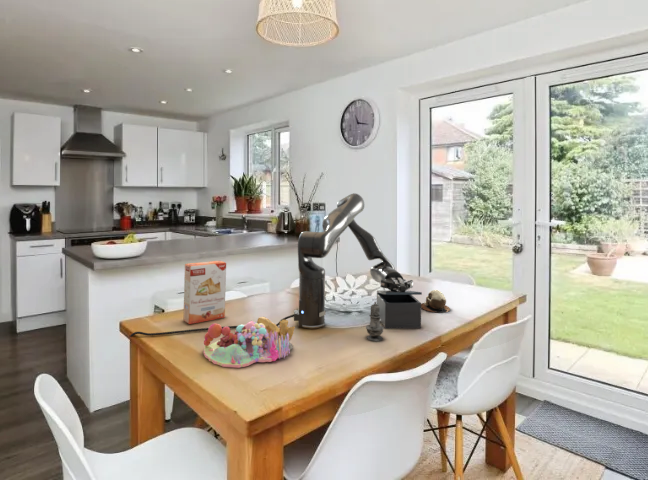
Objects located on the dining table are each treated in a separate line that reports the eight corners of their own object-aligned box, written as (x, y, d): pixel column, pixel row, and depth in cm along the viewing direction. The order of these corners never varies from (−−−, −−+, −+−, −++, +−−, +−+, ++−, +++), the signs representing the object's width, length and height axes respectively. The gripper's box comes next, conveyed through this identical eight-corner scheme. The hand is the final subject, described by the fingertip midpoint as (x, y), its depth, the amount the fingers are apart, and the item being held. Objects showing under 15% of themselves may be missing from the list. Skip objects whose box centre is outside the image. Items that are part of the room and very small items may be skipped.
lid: (421, 294, 144) (421, 292, 144) (385, 294, 143) (385, 292, 143) (409, 292, 159) (409, 290, 159) (376, 292, 158) (376, 290, 159)
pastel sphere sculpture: (251, 331, 139) (252, 304, 139) (307, 347, 125) (308, 317, 125) (190, 354, 118) (190, 322, 118) (248, 377, 105) (249, 340, 105)
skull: (412, 302, 174) (426, 284, 176) (428, 318, 176) (442, 299, 178) (427, 309, 162) (442, 289, 164) (444, 326, 164) (459, 305, 166)
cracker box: (189, 325, 144) (190, 265, 144) (182, 321, 149) (183, 263, 149) (225, 318, 153) (226, 261, 153) (218, 314, 158) (219, 259, 158)
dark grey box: (420, 328, 145) (421, 303, 145) (385, 328, 144) (385, 303, 144) (409, 315, 159) (409, 292, 159) (376, 315, 159) (376, 292, 159)
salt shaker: (383, 342, 130) (383, 304, 130) (364, 340, 132) (365, 303, 132) (384, 336, 136) (384, 299, 136) (366, 334, 137) (367, 298, 137)
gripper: (374, 269, 162) (384, 278, 144) (407, 269, 163) (421, 278, 145) (374, 288, 162) (384, 300, 144) (407, 288, 163) (421, 299, 145)
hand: (403, 289), depth 145 cm, fingers closed
